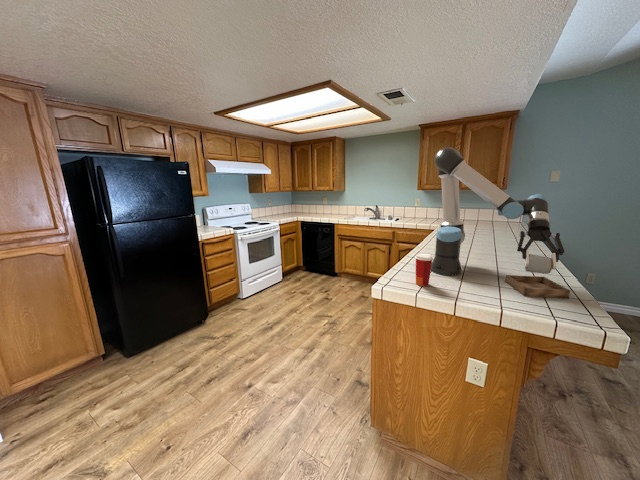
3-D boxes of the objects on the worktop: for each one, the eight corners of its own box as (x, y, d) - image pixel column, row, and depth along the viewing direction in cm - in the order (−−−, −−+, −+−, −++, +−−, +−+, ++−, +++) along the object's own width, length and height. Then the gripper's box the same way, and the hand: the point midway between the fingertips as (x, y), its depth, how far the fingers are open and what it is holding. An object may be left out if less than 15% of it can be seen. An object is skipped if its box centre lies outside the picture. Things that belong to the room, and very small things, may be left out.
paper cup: (430, 281, 123) (432, 254, 120) (431, 288, 116) (433, 258, 113) (413, 280, 126) (414, 252, 123) (413, 286, 119) (415, 257, 116)
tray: (524, 296, 107) (525, 288, 106) (504, 281, 122) (505, 274, 121) (568, 298, 104) (570, 290, 103) (542, 283, 119) (544, 276, 118)
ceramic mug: (551, 276, 106) (554, 258, 104) (526, 273, 110) (529, 256, 109) (545, 269, 115) (548, 253, 113) (522, 266, 119) (525, 250, 118)
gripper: (511, 217, 120) (511, 258, 110) (572, 219, 109) (577, 265, 99) (509, 226, 126) (508, 267, 115) (566, 229, 115) (571, 274, 105)
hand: (540, 266), depth 107 cm, fingers closed on ceramic mug, 8 cm apart
